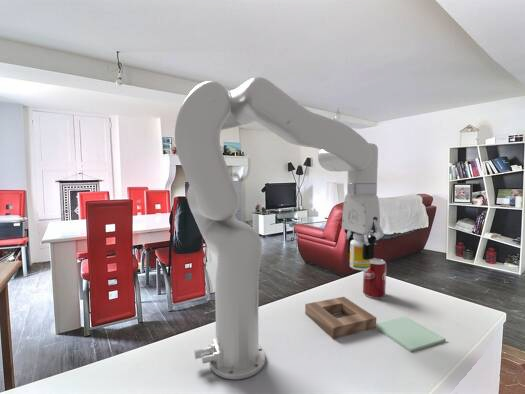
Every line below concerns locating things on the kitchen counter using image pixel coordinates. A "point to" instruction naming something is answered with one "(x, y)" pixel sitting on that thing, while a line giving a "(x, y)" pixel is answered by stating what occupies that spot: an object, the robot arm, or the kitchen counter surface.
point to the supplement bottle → (358, 253)
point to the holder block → (343, 326)
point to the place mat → (409, 333)
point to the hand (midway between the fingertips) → (360, 255)
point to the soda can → (375, 279)
